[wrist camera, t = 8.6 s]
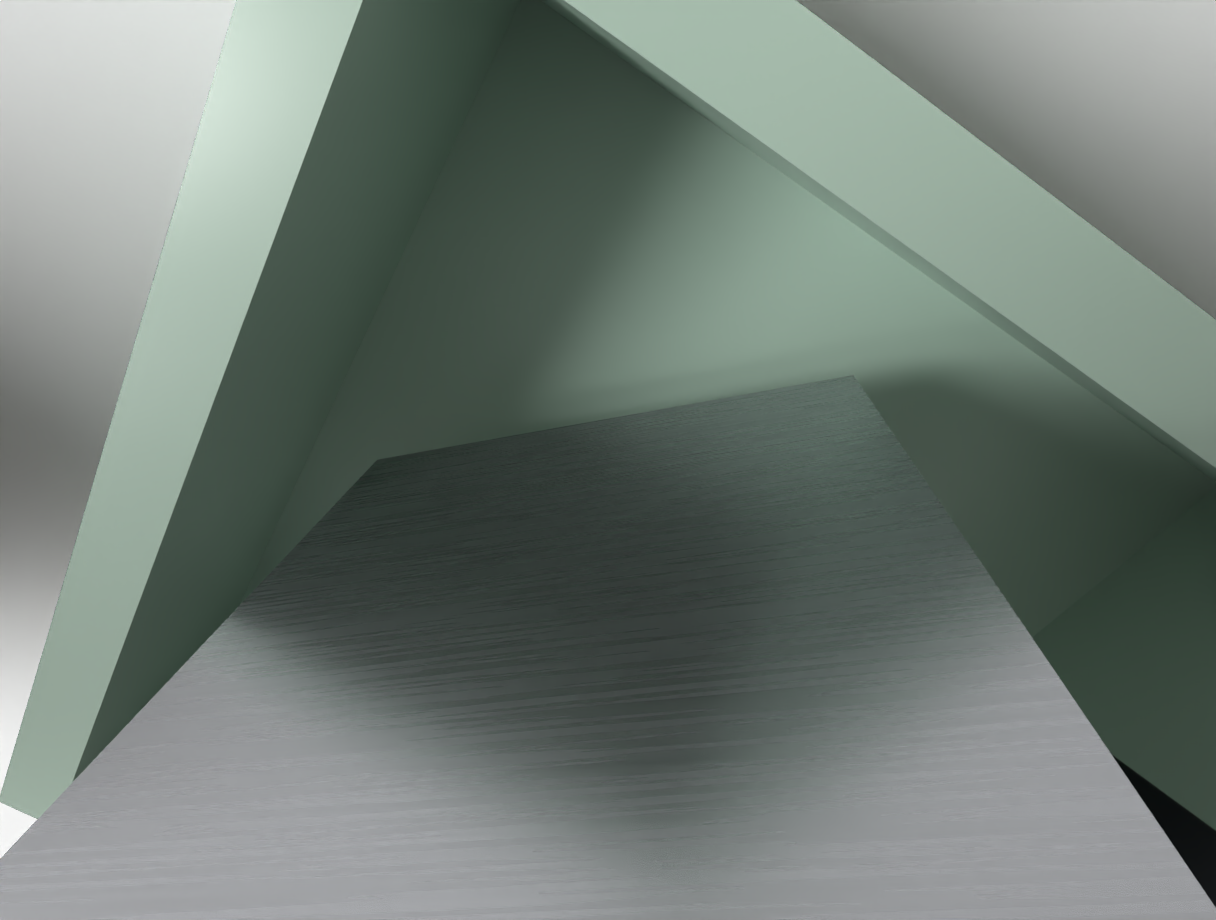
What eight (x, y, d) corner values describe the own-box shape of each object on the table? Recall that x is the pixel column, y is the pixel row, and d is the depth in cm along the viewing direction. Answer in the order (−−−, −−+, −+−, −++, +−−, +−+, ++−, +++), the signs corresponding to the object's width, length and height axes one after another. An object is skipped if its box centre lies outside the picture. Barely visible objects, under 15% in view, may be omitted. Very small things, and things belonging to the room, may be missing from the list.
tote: (207, 598, 13) (-2, 800, 9) (513, -110, 8) (340, -348, 4) (740, 878, 15) (758, 1149, 11) (1270, 446, 10) (1666, 662, 6)
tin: (507, 783, 11) (286, 1582, 5) (377, 460, 9) (-335, 1212, 3) (887, 754, 10) (1203, 1733, 4) (854, 374, 8) (1501, 1323, 2)
